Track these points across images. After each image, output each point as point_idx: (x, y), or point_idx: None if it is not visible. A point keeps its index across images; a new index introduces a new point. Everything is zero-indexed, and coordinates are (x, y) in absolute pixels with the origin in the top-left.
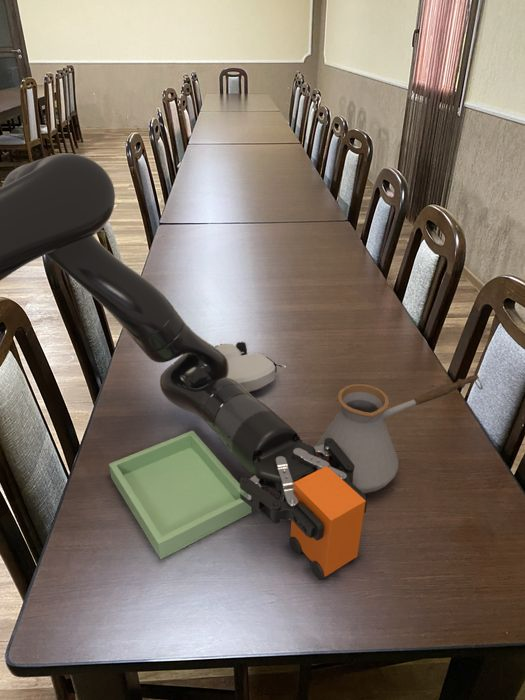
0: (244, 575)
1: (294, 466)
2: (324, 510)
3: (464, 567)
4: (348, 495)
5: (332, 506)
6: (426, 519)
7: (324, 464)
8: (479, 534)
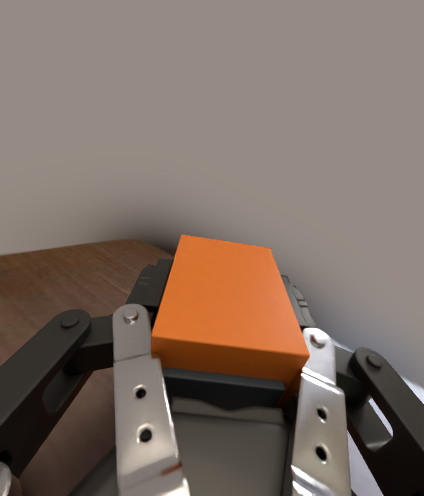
0: (358, 471)
1: (234, 490)
2: (271, 261)
3: (83, 274)
4: (199, 252)
5: (249, 257)
6: (8, 330)
7: (136, 364)
8: (11, 279)
